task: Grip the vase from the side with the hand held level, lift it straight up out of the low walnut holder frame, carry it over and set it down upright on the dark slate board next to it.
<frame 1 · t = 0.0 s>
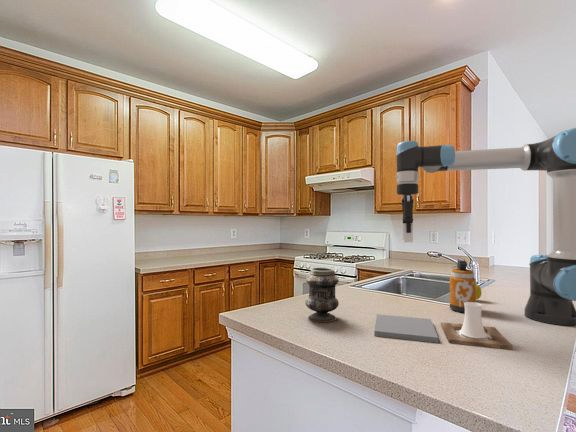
hand: (407, 241, 118), 28 cm above the counter, tool pointing down, fingers open, 13 cm apart
slate board: (404, 329, 104), on the counter
holder frame: (473, 336, 98), on the counter
canister: (462, 310, 126), on the counter
lemon: (474, 301, 140), on the counter
apothecary jar: (321, 318, 115), on the counter
vase: (473, 337, 98), on the counter
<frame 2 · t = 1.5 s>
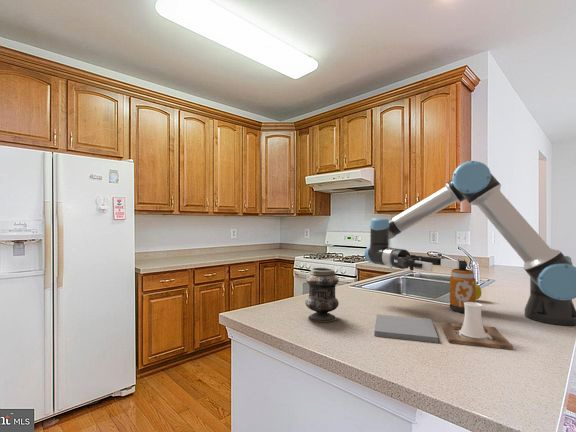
hand: (445, 266, 106), 20 cm above the counter, tool horizontal, fingers open, 13 cm apart
nothing on the counter moved.
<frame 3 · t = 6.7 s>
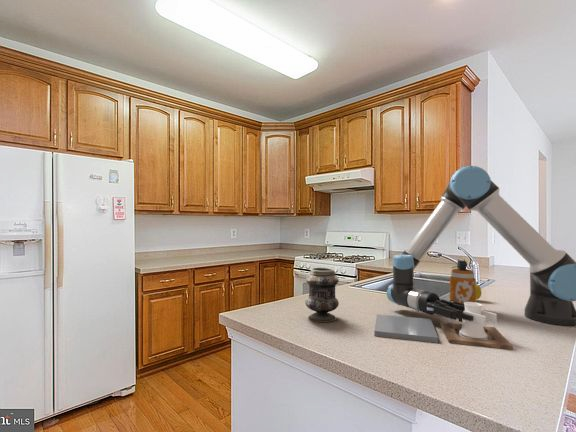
hand: (490, 319, 93), 7 cm above the counter, tool horizontal, fingers closed on vase, 5 cm apart
vase: (473, 336, 98), on the counter, touching gripper
everything else where it was.
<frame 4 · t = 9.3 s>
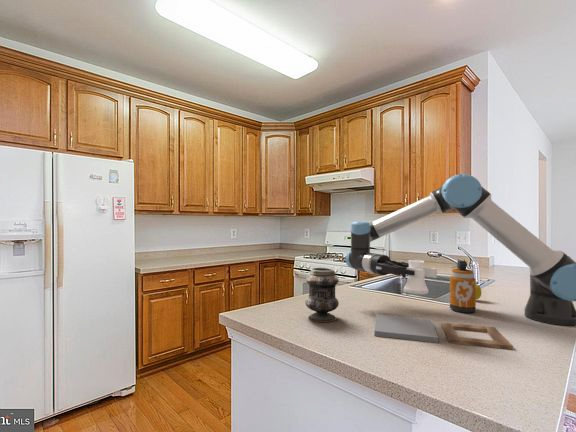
hand: (430, 274, 98), 19 cm above the counter, tool horizontal, fingers closed on vase, 5 cm apart
vase: (415, 292, 103), point 12 cm above the counter, touching gripper
everything else where it was.
when the fingers open (10 cm above the counter, at t = 11.9 s): vase drops 2 cm, resting on slate board.
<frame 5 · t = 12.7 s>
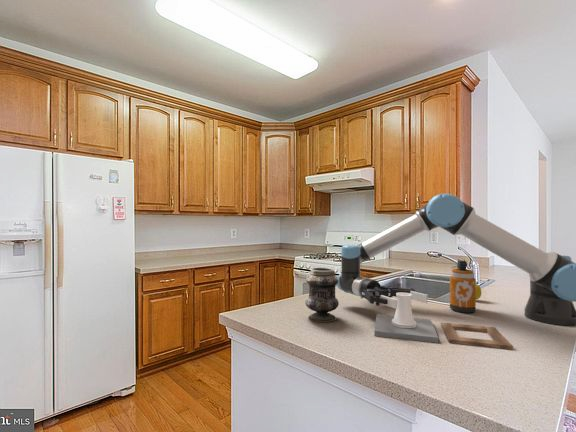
hand: (412, 301, 101), 10 cm above the counter, tool horizontal, fingers open, 13 cm apart
vase: (403, 325, 104), point 1 cm above the counter, touching slate board
everything else where it was.
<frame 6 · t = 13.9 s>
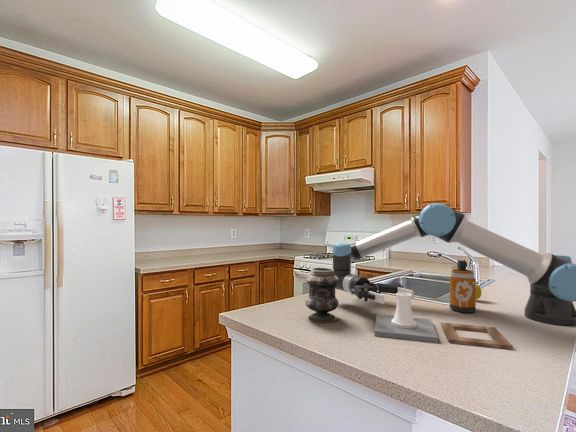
hand: (398, 297, 105), 10 cm above the counter, tool horizontal, fingers open, 13 cm apart
nothing on the counter moved.
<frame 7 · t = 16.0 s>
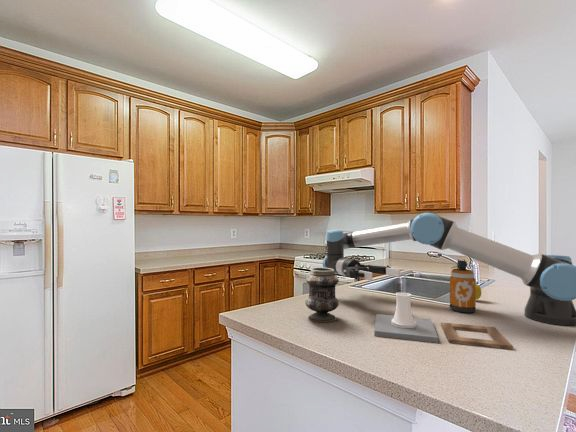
hand: (386, 274, 115), 16 cm above the counter, tool horizontal, fingers open, 13 cm apart
nothing on the counter moved.
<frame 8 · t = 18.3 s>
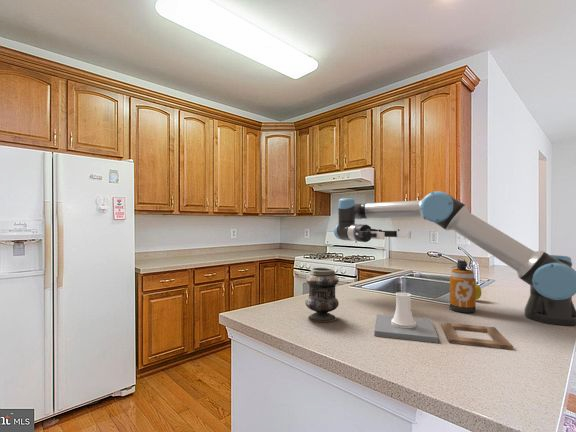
hand: (397, 235, 120), 30 cm above the counter, tool horizontal, fingers open, 13 cm apart
nothing on the counter moved.
at the end: vase inside the target area on the slate board (0.2 cm from its centre), point 1.3 cm above the slate board's base; vase tilted 0°; the gripper is holding nothing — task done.
